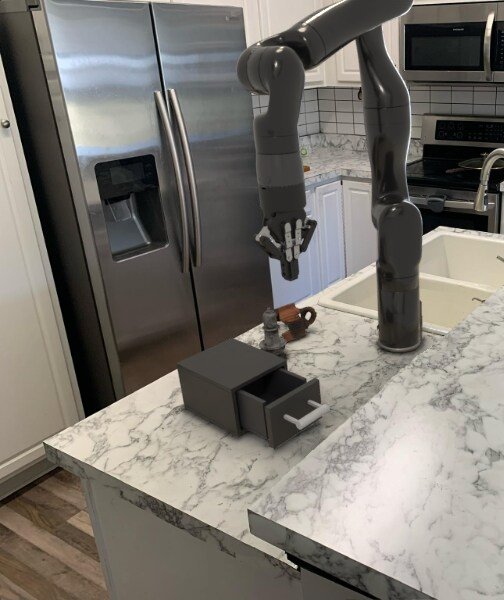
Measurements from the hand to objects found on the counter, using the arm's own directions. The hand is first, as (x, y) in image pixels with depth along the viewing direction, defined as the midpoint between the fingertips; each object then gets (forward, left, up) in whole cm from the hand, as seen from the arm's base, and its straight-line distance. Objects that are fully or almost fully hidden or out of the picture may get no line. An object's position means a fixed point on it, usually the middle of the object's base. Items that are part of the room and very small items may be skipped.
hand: (290, 279), depth 105 cm
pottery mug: (-20, -24, -25) cm, 40 cm away
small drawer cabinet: (+8, -9, -25) cm, 28 cm away
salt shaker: (-9, -18, -25) cm, 32 cm away
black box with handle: (+8, +3, -24) cm, 26 cm away
